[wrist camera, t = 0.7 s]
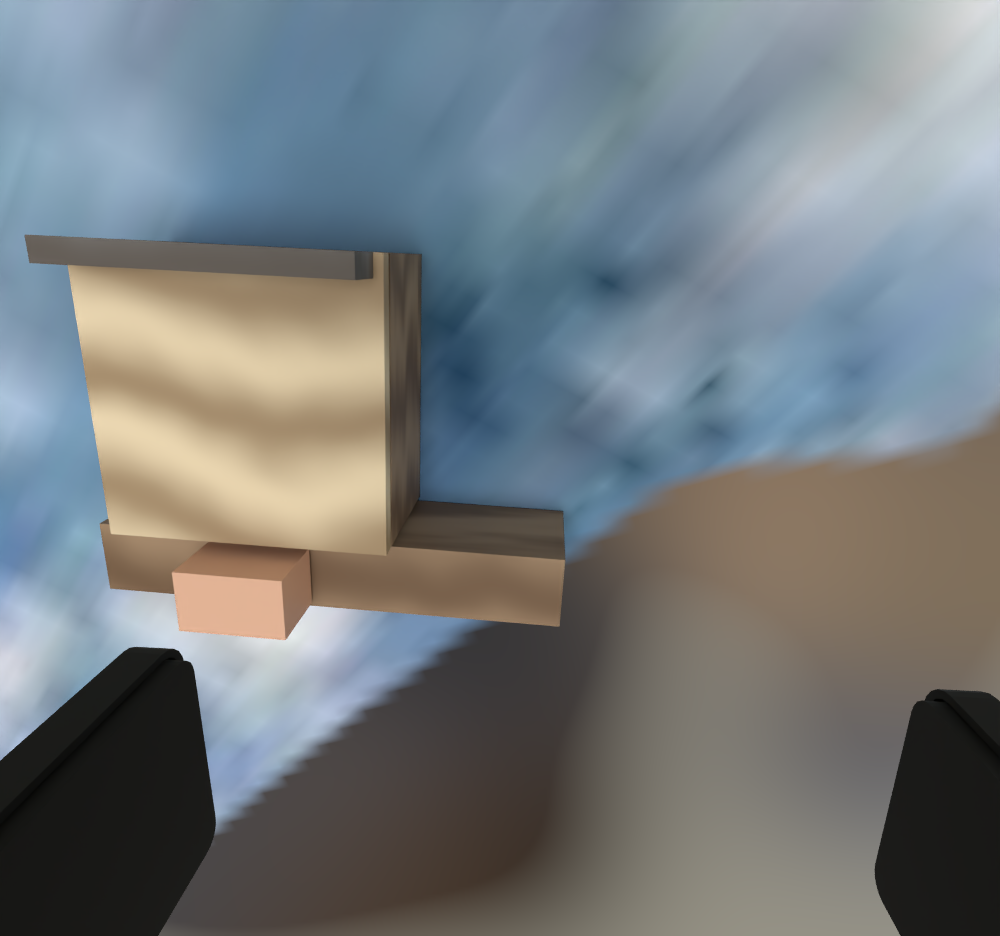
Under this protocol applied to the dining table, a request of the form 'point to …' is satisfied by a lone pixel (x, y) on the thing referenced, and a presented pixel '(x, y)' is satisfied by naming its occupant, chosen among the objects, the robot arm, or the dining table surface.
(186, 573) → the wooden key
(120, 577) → the toolbox
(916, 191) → the dining table surface
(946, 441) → the dining table surface
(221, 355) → the toolbox lid
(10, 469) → the dining table surface
